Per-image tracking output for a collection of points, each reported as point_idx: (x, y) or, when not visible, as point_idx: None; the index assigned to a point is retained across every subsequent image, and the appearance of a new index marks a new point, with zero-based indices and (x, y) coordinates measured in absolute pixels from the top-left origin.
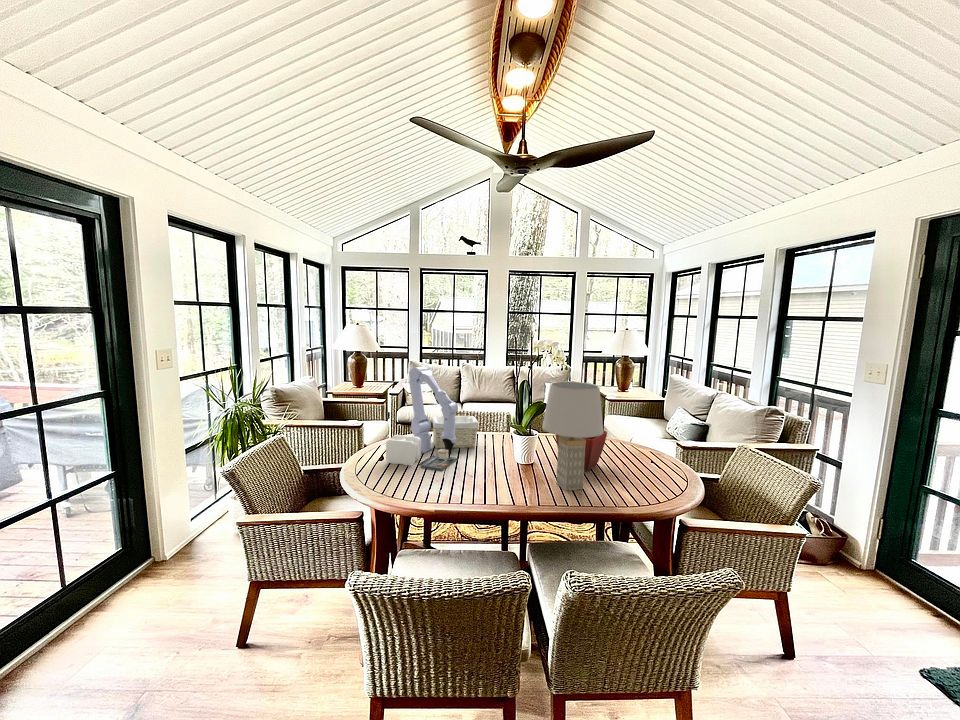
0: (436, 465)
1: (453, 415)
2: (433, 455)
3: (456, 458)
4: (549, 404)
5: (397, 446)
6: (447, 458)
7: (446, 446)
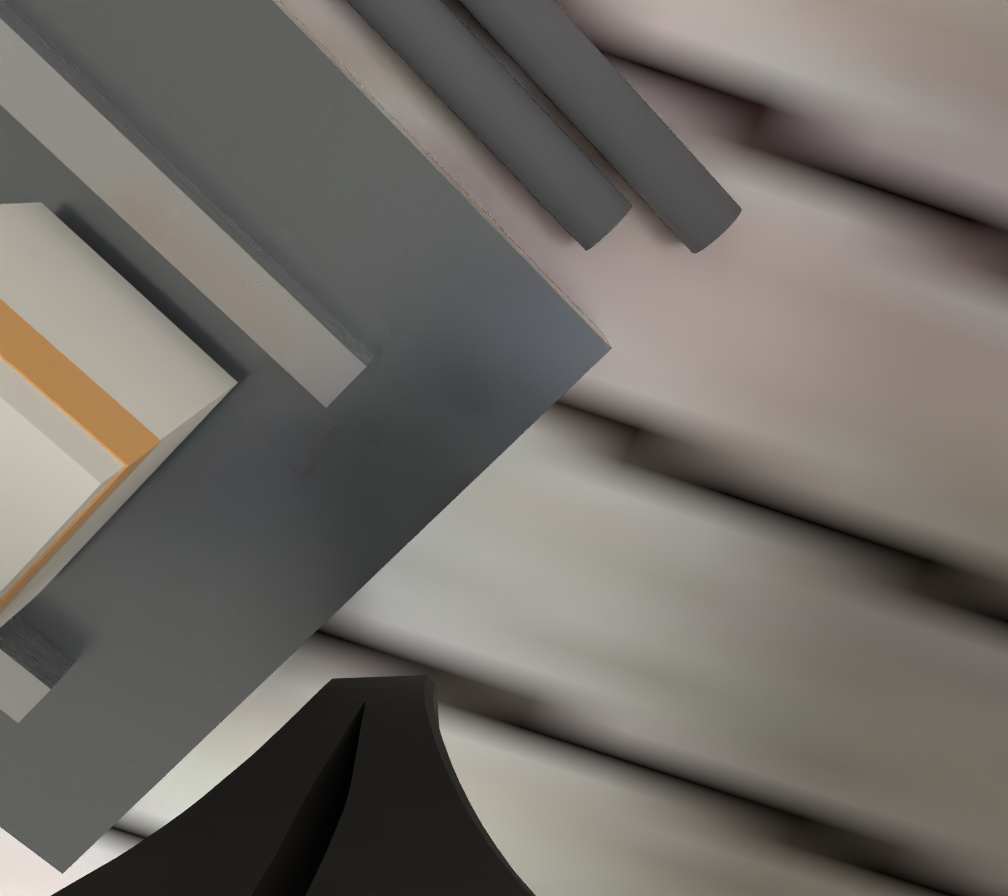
0: None
1: None
2: (657, 194)
3: (9, 827)
4: None
5: None
6: None
7: (141, 847)
